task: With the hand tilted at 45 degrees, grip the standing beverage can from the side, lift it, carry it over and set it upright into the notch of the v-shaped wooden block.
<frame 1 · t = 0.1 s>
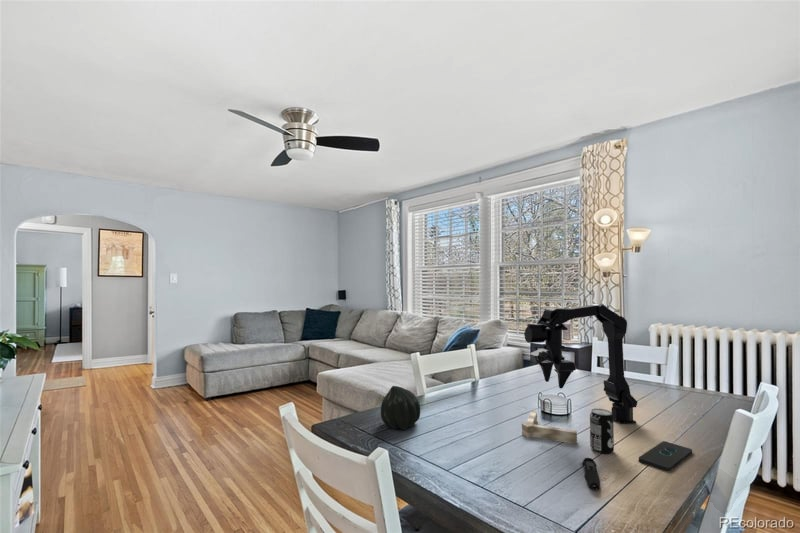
hand: (553, 384, 144), 15 cm above the table, tool pointing down, fingers open, 9 cm apart
electric trimmer: (592, 479, 106), on the table
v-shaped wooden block: (545, 432, 137), on the table
beverage can: (601, 450, 123), on the table
smart home device: (666, 459, 118), on the table
squash: (400, 426, 143), on the table
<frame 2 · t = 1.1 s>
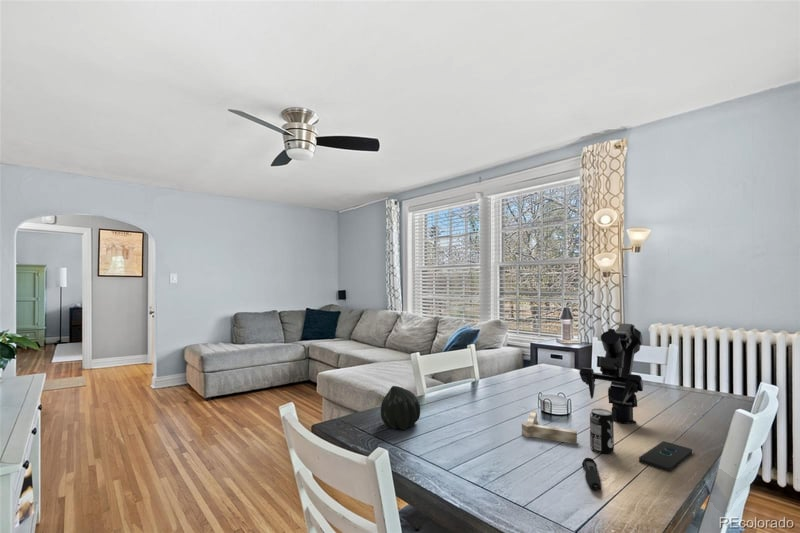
hand: (606, 400, 130), 13 cm above the table, tool tilted 45°, fingers open, 9 cm apart
nothing on the table moved.
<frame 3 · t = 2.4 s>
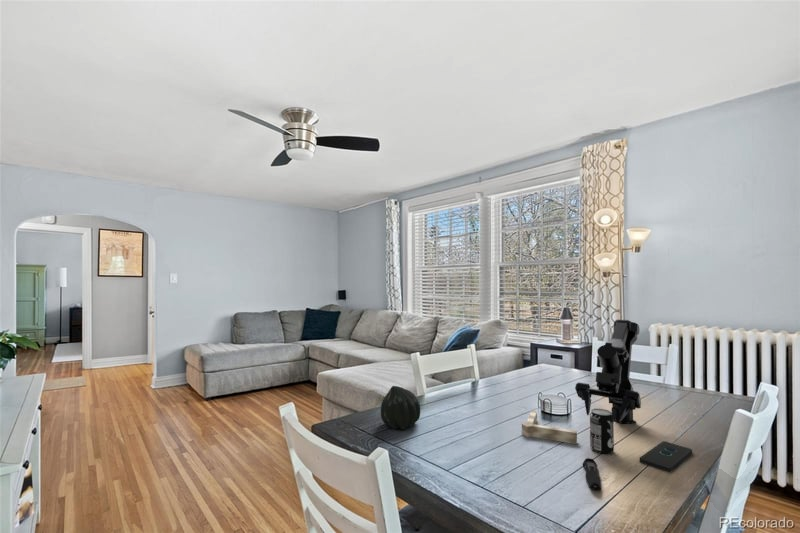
hand: (603, 417, 125), 9 cm above the table, tool tilted 45°, fingers open, 9 cm apart
nothing on the table moved.
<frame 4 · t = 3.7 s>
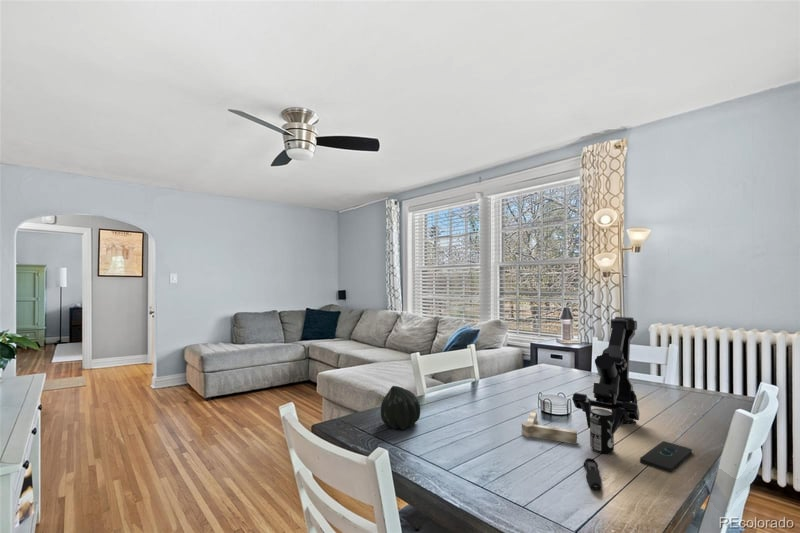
hand: (600, 430, 122), 7 cm above the table, tool tilted 45°, fingers closed on beverage can, 6 cm apart
beverage can: (601, 450, 123), on the table, touching gripper
everything else where it was.
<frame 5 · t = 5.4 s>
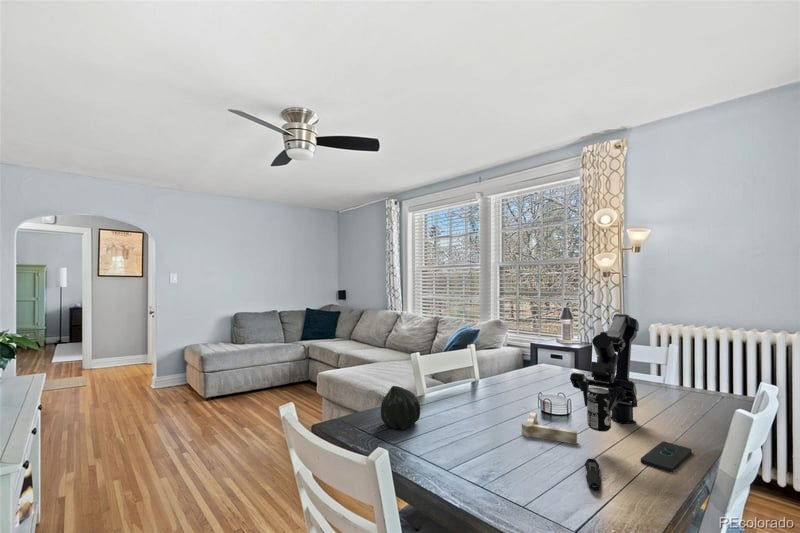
hand: (597, 408, 123), 13 cm above the table, tool tilted 45°, fingers closed on beverage can, 6 cm apart
beverage can: (599, 428, 124), point 6 cm above the table, touching gripper
everything else where it was.
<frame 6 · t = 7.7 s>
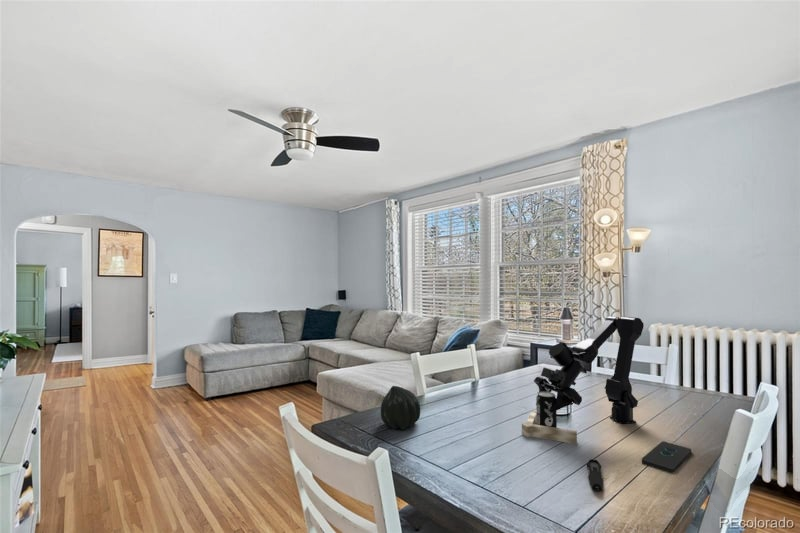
hand: (543, 408, 137), 8 cm above the table, tool tilted 45°, fingers closed on beverage can, 6 cm apart
beverage can: (546, 429, 137), point 1 cm above the table, touching gripper
when the fingers open (8 cm above the table, at t = 8.3 s): beverage can stays where it is, on the table.
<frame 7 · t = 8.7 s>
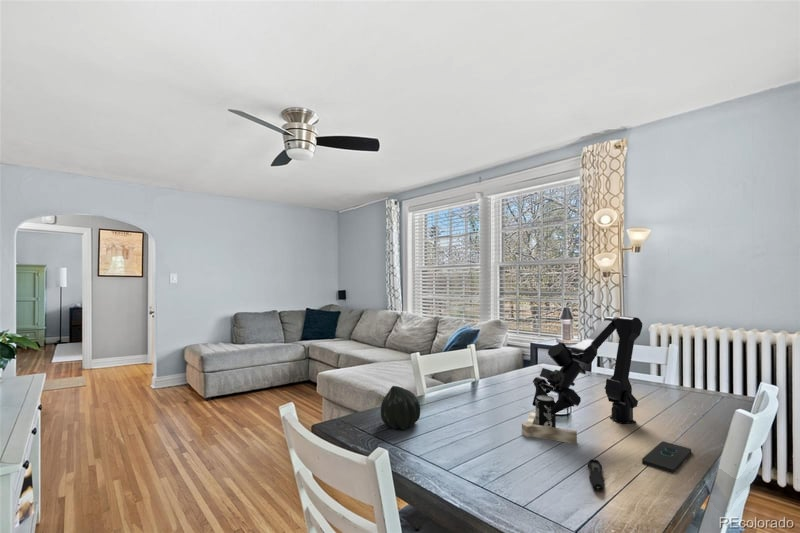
hand: (541, 409, 137), 8 cm above the table, tool tilted 45°, fingers open, 9 cm apart
beverage can: (545, 432, 137), on the table
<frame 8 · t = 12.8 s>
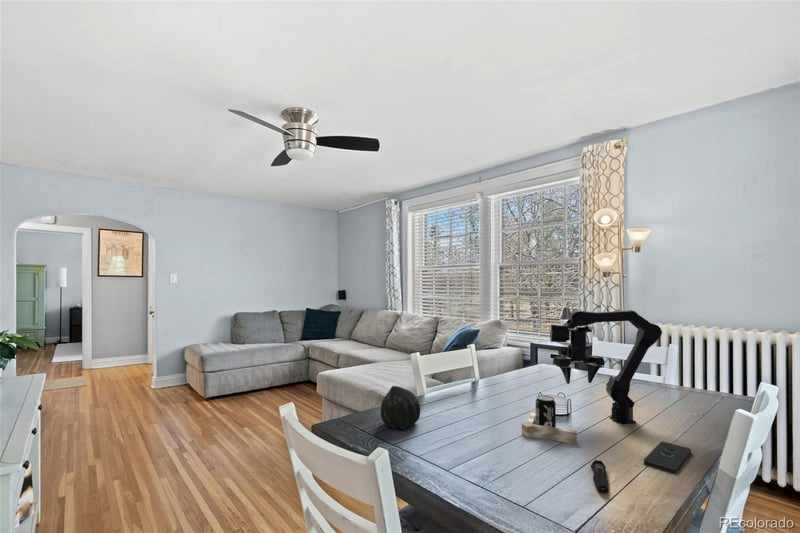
hand: (578, 383, 153), 13 cm above the table, tool pointing down, fingers open, 9 cm apart
at the end: beverage can 0.1 cm off-centre on the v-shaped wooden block, point 0.0 cm above the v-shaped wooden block's base; beverage can tilted 0°; the gripper is holding nothing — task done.
